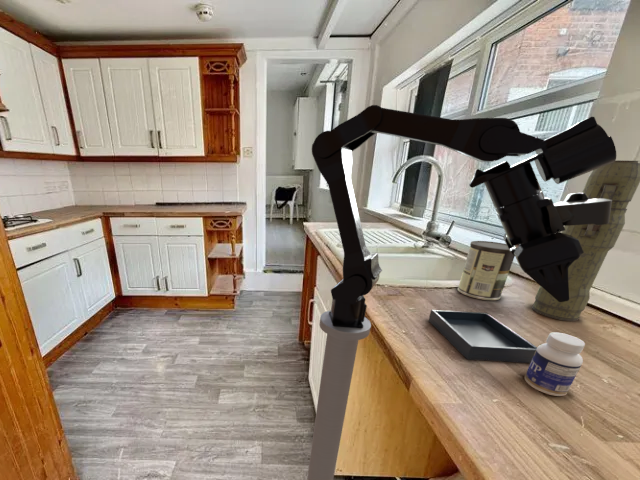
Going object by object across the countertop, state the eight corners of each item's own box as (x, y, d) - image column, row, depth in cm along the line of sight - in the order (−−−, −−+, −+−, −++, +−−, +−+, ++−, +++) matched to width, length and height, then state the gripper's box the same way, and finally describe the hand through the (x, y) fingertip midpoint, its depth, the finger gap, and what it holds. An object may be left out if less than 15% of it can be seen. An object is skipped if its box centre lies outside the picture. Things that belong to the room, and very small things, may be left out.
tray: (466, 359, 56) (471, 346, 55) (428, 320, 70) (431, 309, 69) (536, 363, 55) (542, 350, 54) (483, 323, 69) (487, 312, 68)
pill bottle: (520, 371, 53) (540, 326, 49) (561, 382, 50) (584, 335, 47) (527, 389, 48) (548, 340, 45) (571, 402, 46) (597, 352, 43)
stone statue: (576, 310, 78) (646, 162, 65) (581, 327, 69) (663, 160, 56) (531, 300, 83) (587, 161, 70) (531, 314, 75) (594, 159, 62)
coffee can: (487, 288, 91) (503, 241, 86) (508, 302, 81) (527, 251, 76) (450, 285, 92) (463, 239, 87) (466, 298, 83) (483, 248, 78)
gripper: (618, 170, 35) (668, 294, 35) (571, 171, 49) (607, 259, 50) (499, 215, 41) (543, 319, 42) (489, 204, 56) (521, 281, 57)
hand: (556, 291), depth 48 cm, fingers open, 9 cm apart
